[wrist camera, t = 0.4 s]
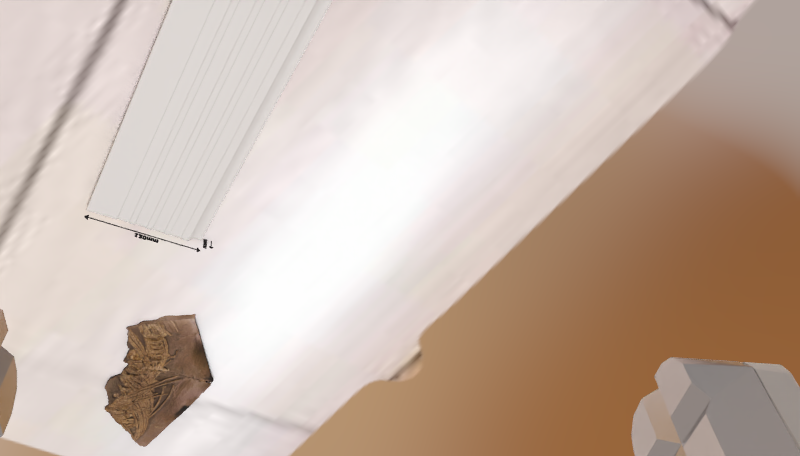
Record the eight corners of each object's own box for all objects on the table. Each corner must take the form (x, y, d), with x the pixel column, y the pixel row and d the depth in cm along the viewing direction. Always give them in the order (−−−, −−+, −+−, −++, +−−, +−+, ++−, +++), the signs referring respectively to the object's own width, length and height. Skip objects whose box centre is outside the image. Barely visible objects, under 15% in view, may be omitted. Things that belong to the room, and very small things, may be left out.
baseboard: (371, -36, 56) (217, -116, 51) (375, -19, 54) (215, -100, 49) (216, 239, 73) (88, 199, 68) (214, 260, 71) (82, 221, 66)
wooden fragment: (136, 301, 77) (135, 309, 76) (241, 321, 81) (241, 329, 81) (86, 435, 92) (84, 443, 91) (177, 447, 96) (176, 454, 95)
